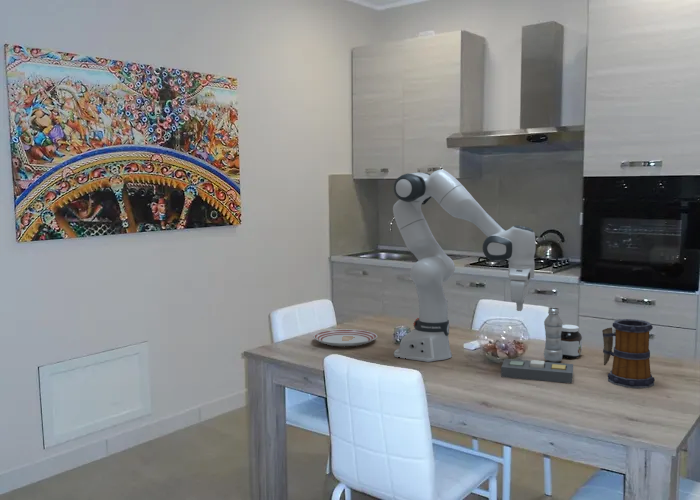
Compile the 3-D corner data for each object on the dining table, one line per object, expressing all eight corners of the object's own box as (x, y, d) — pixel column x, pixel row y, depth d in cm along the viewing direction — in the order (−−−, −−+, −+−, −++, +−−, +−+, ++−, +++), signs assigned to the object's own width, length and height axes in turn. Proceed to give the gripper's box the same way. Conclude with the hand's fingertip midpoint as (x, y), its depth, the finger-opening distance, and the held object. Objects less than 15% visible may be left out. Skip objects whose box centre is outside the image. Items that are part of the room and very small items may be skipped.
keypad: (501, 376, 216) (501, 366, 216) (505, 368, 226) (505, 358, 226) (571, 383, 208) (572, 373, 207) (573, 374, 218) (573, 364, 218)
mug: (587, 374, 217) (588, 317, 215) (618, 369, 223) (619, 313, 221) (632, 390, 199) (633, 329, 197) (665, 384, 205) (667, 324, 203)
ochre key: (551, 373, 213) (551, 367, 213) (552, 369, 217) (552, 364, 217) (565, 374, 212) (565, 368, 211) (565, 370, 216) (565, 365, 215)
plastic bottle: (563, 364, 230) (564, 310, 228) (544, 363, 231) (545, 310, 229) (561, 359, 236) (562, 307, 234) (542, 358, 237) (543, 306, 235)
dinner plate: (338, 332, 287) (338, 325, 287) (389, 340, 271) (389, 332, 271) (300, 345, 265) (299, 337, 265) (352, 354, 249) (352, 346, 249)
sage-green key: (509, 369, 218) (509, 364, 218) (510, 366, 222) (510, 360, 222) (522, 370, 217) (522, 365, 216) (523, 367, 221) (523, 361, 220)
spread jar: (571, 360, 234) (571, 330, 233) (544, 355, 243) (544, 325, 242) (587, 354, 242) (588, 325, 241) (560, 349, 251) (561, 320, 249)
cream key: (530, 369, 216) (530, 363, 215) (531, 365, 220) (531, 359, 219) (543, 370, 214) (543, 364, 214) (544, 366, 218) (544, 361, 218)
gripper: (516, 267, 232) (514, 304, 234) (508, 275, 214) (506, 315, 215) (533, 268, 230) (532, 305, 232) (527, 276, 211) (525, 316, 213)
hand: (519, 310), depth 223 cm, fingers closed
